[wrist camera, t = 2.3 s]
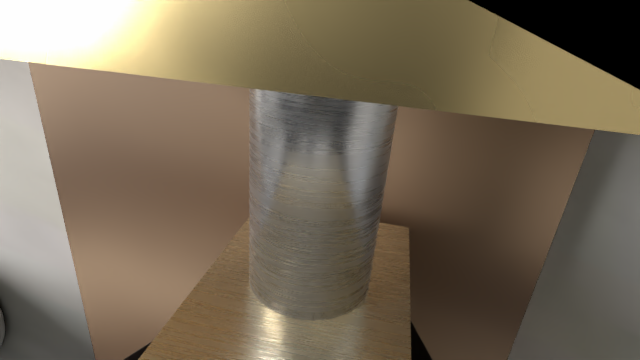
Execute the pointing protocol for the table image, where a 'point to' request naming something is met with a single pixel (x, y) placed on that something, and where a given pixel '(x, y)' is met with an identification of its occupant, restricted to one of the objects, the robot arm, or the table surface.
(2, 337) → the travel mug
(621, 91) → the gold slab
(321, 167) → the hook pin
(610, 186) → the table surface
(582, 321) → the table surface
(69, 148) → the copper board
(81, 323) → the table surface
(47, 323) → the table surface
